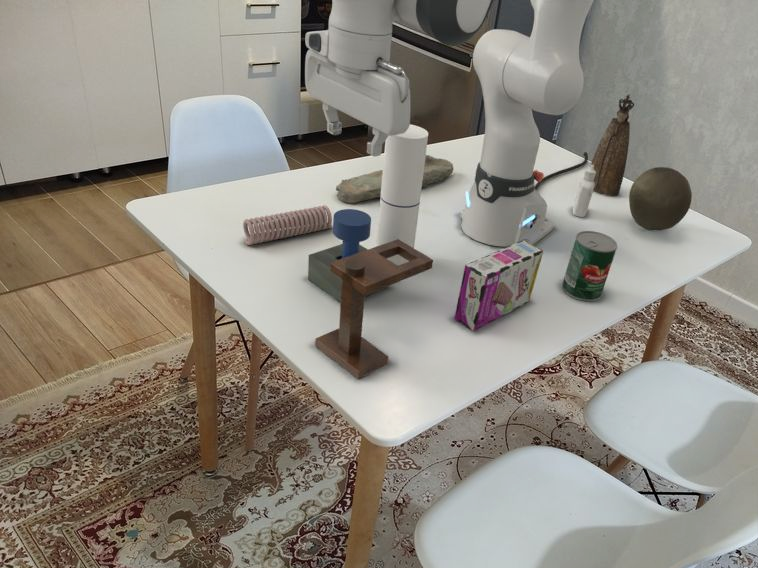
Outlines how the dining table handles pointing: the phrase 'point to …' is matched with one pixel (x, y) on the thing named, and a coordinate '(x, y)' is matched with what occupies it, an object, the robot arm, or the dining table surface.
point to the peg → (351, 229)
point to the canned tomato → (589, 265)
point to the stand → (357, 281)
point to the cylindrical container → (401, 188)
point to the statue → (613, 152)
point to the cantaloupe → (659, 198)
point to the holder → (328, 270)
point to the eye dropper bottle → (584, 193)
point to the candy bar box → (497, 284)
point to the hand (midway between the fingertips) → (353, 143)
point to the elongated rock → (372, 182)
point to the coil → (287, 224)
